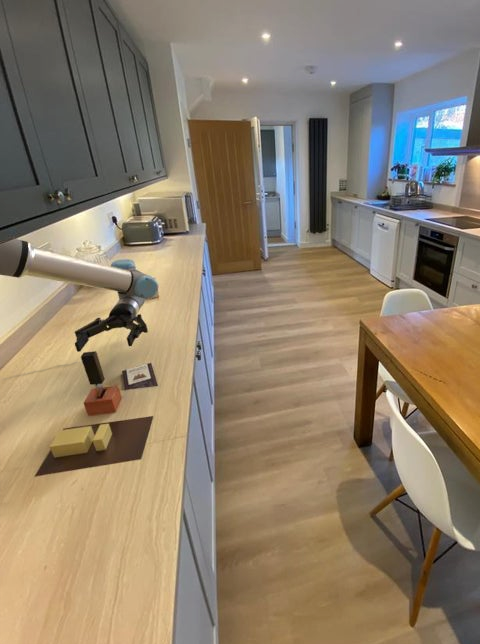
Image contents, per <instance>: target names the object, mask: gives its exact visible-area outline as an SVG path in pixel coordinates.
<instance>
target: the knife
mask: <svg viewBox="0 0 480 644" xmlns="http://www.w3.org/2000/svg"><path fill="white" fill-rule="evenodd" d="M80 359H81V362H82V366H83V367H84V371H85V373H86V377H87V379H88V382H89V385H90V386H92V385H94V388H96V391H97V394H98V397H99V399H100V398H102V397H103V395H104V393H105V391H104V388H103V387H104V385H103V383H104V381H105V380H106V378H105V375H104V371H103V369H102V365H101V362H100V358H99V356H98V352H97V350H94V351H84V352H82V354H81V355H80Z"/></svg>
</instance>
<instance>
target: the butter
mask: <svg viewBox="0 0 480 644" xmlns="http://www.w3.org/2000/svg"><path fill="white" fill-rule="evenodd" d="M94 437H95V436H94V433H93V430H92V427H91V426H88V427H81V428H74V429H67V430H63V429H60V430H59V431H58V432H57V434H56V436H55V437H54V439H53V440H52V442H51V443H50V445H49V450H51V451H52V454H53V456H54V458H55V457H62V456H68V455H75V454H81V453H87V452H88V450H89V448H90V446H91V443H92V441H93V439H94Z"/></svg>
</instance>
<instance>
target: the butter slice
mask: <svg viewBox="0 0 480 644" xmlns="http://www.w3.org/2000/svg"><path fill="white" fill-rule="evenodd" d="M111 435H112V432H111V429H110V426H109V424H102V425H100V426H99V428H98V430H97V432H96V434H95V437H94V439H93V443H94V446H95V448H96V451H101V450H106V448H107V445H108V443H109V440H110V438H111Z"/></svg>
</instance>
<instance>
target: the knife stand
mask: <svg viewBox="0 0 480 644" xmlns="http://www.w3.org/2000/svg"><path fill="white" fill-rule="evenodd" d="M103 388H104V391H105V393H104V395H103V397H102V398H100V399H99V397H98V394H97V391H96V388H95V387H94V388H93V387H91V389H90V391H89V393H88V394H87V396H86V398H85V399H84V401H83V406H84V408H85V411H86V414H87V417H91V416H99V415H106V414H114V413H117V411H118V409H119V406H120V405H121V402H122V399H123V396H122V393H121V389H120V386H119V385H110V386H103Z"/></svg>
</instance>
